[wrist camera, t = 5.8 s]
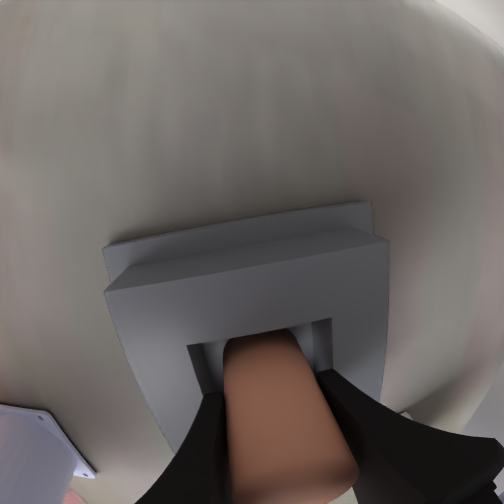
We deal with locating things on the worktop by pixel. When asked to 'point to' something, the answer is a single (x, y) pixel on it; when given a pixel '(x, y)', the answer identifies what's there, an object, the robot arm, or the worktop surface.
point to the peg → (280, 425)
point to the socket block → (249, 301)
